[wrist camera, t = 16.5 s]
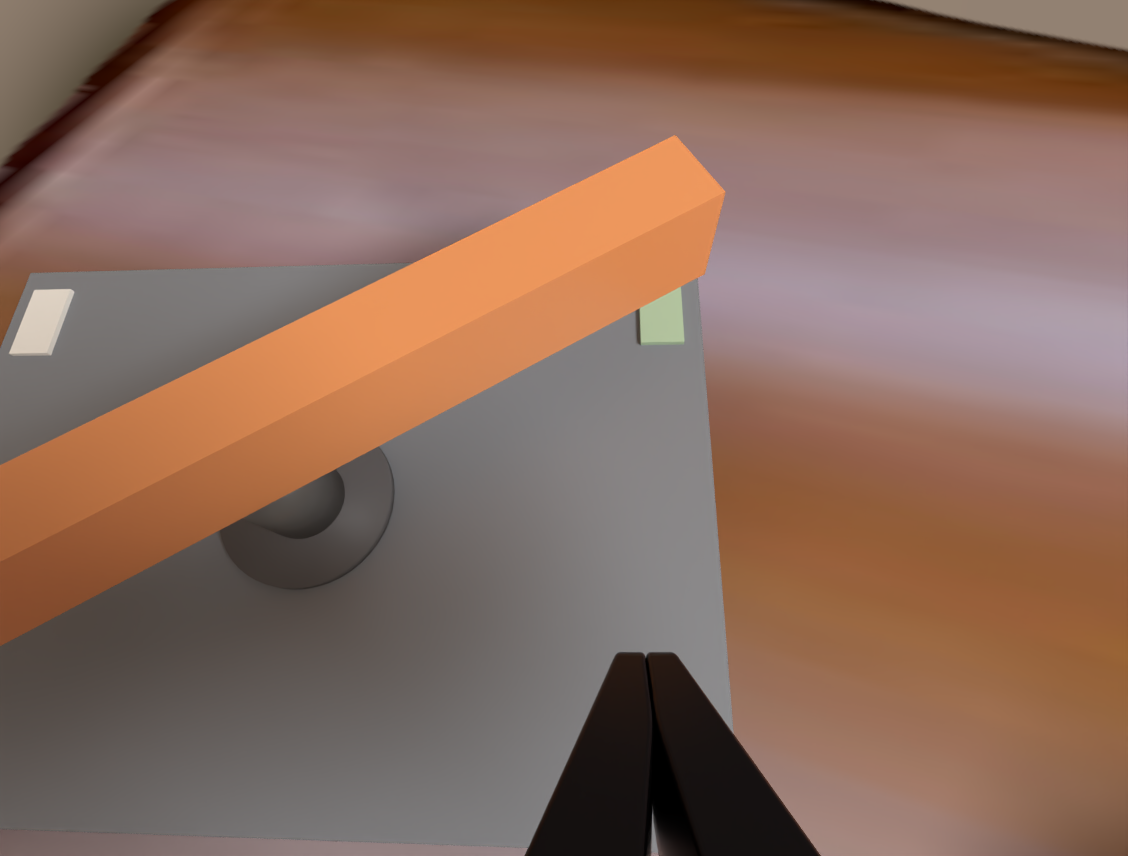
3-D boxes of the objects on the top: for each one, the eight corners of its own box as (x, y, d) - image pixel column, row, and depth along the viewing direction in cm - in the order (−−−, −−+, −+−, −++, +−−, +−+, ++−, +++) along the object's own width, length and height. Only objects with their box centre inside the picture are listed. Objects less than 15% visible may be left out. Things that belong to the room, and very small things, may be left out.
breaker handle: (693, 335, 23) (729, 197, 16) (-122, 777, 19) (-525, 838, 12) (652, 282, 24) (671, 130, 17) (-130, 691, 20) (-507, 703, 13)
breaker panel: (726, 833, 19) (746, 860, 16) (-107, 805, 21) (-209, 825, 18) (688, 290, 26) (697, 248, 24) (76, 304, 28) (22, 267, 25)
